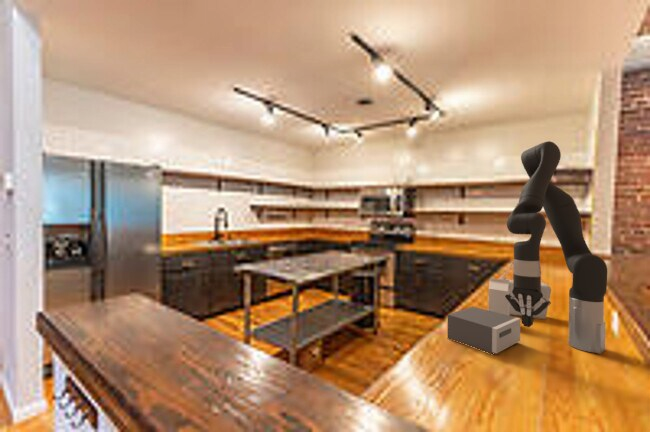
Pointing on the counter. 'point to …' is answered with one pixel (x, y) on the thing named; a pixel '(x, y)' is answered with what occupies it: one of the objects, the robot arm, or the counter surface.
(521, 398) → the counter surface
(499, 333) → the drawer
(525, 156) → the robot arm
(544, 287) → the radio
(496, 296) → the milk carton
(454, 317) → the cabinet
